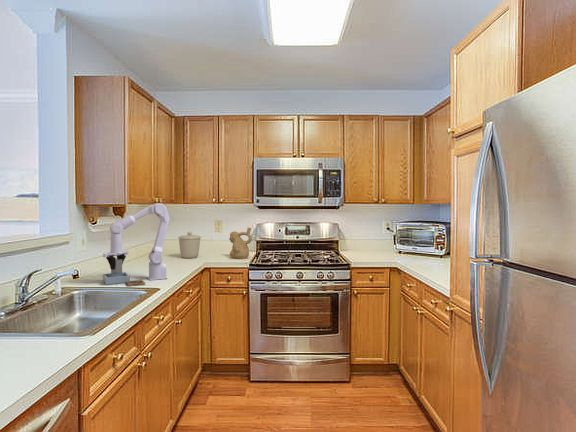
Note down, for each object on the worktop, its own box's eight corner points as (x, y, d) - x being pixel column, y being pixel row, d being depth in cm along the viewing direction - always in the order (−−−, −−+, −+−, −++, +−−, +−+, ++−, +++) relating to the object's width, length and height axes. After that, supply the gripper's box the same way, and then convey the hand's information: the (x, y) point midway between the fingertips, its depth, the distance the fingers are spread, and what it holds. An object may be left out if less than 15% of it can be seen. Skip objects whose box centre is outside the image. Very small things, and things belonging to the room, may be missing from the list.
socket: (141, 282, 212) (141, 279, 212) (145, 284, 205) (145, 282, 205) (125, 283, 207) (125, 281, 207) (128, 286, 200) (128, 284, 200)
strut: (117, 272, 213) (117, 258, 213) (122, 273, 211) (122, 259, 211) (111, 273, 210) (111, 259, 209) (115, 274, 208) (115, 260, 207)
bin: (125, 279, 219) (125, 272, 219) (129, 282, 209) (129, 275, 209) (102, 281, 213) (102, 274, 213) (105, 285, 203) (105, 277, 202)
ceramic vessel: (233, 256, 318) (233, 226, 317) (255, 257, 313) (255, 227, 312) (224, 258, 302) (224, 227, 301) (247, 260, 296) (247, 228, 295)
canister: (196, 255, 318) (196, 230, 317) (204, 258, 303) (204, 232, 302) (175, 256, 308) (175, 231, 308) (181, 259, 293) (181, 232, 292)
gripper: (108, 246, 202) (108, 271, 202) (132, 243, 214) (132, 267, 215) (100, 245, 205) (100, 270, 206) (123, 242, 218) (124, 266, 218)
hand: (116, 268), depth 211 cm, fingers closed on strut, 4 cm apart
